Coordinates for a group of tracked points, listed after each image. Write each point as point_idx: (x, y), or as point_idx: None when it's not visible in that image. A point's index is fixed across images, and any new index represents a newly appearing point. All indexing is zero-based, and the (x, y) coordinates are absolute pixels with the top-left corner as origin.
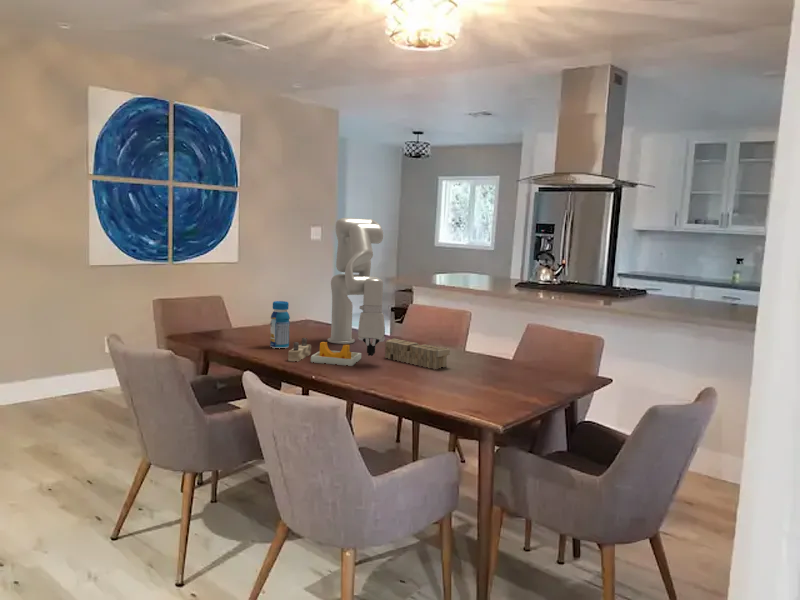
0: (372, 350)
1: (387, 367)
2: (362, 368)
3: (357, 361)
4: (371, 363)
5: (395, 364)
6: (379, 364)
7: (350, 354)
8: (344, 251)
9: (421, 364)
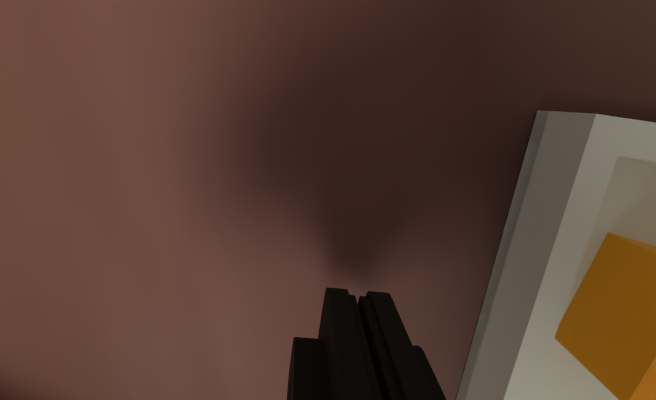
0: (328, 368)
1: (110, 148)
2: (413, 6)
3: (479, 324)
4: None
5: (57, 323)
6: (234, 275)
7: (613, 363)
8: None
9: None
